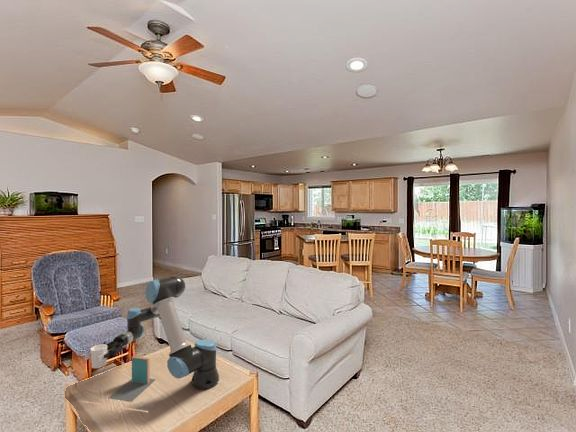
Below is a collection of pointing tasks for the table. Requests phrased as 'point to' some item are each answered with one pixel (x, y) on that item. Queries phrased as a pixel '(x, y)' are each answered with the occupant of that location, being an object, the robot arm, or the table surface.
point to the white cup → (96, 352)
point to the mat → (130, 390)
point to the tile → (140, 369)
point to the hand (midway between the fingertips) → (91, 358)
